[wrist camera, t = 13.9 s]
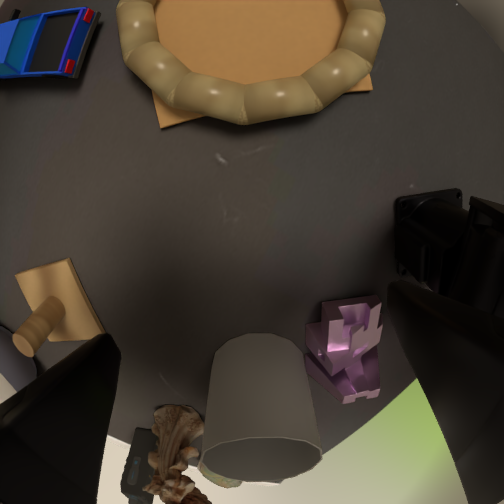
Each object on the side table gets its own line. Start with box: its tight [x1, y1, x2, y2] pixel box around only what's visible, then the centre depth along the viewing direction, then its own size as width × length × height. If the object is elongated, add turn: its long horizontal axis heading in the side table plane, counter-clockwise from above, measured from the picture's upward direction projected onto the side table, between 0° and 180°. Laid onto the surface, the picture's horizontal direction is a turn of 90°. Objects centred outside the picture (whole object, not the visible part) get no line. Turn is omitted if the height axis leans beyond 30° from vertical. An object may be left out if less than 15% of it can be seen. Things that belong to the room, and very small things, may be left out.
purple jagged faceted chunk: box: [305, 295, 383, 404], centre depth 21 cm, size 8×7×6 cm
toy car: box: [0, 7, 101, 81], centre depth 11 cm, size 7×12×5 cm, turn 73°
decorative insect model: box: [197, 458, 242, 488], centre depth 31 cm, size 9×11×5 cm
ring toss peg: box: [12, 258, 106, 357], centre depth 19 cm, size 8×8×7 cm
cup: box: [200, 333, 322, 482], centre depth 20 cm, size 8×8×10 cm
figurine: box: [142, 405, 212, 504], centre depth 21 cm, size 7×6×15 cm
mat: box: [152, 0, 373, 128], centre depth 13 cm, size 14×14×1 cm
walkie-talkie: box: [120, 428, 159, 504], centre depth 22 cm, size 5×3×20 cm
